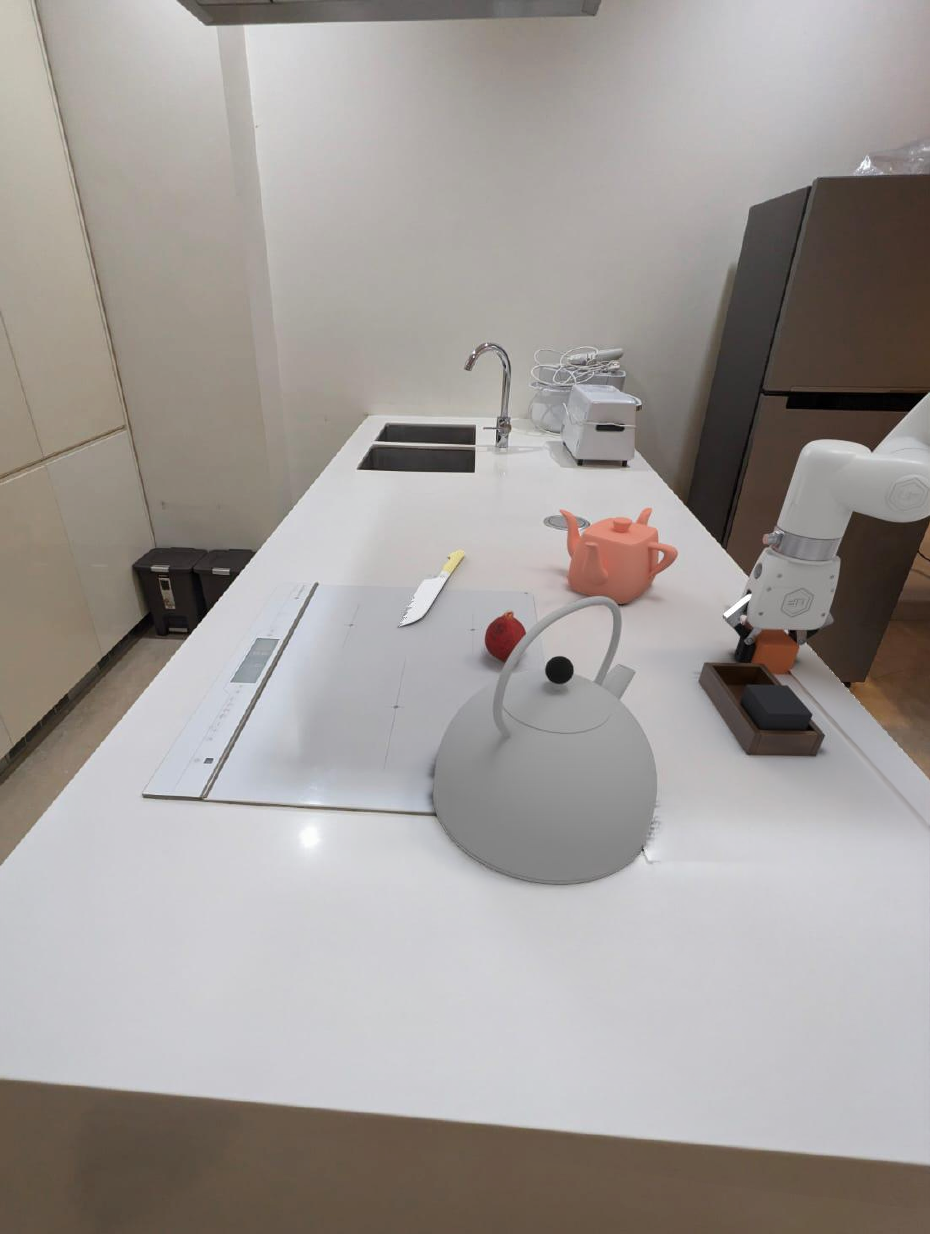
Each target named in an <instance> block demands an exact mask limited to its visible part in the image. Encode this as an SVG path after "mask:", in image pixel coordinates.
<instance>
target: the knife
mask: <svg viewBox="0 0 930 1234" xmlns="http://www.w3.org/2000/svg"><path fill="white" fill-rule="evenodd" d="M465 554H466V552H465V550H461V549H458V550H455V551H453V552H451V553H450V554H448V555H447V557H449V560H448V561H446V563H445V564H444V565H443V567H442V569H441V570H440V573H439V574H438V576H437V577H435V578H426V579H423V580H422V582H421V583H420V585H419V586H418V588H417V590H416V591H415V593H414V594H413V596H414V597H415V598H414V599H412V598H411V599H412V600H411V599H410V601H414V602H412V603H411V604H410V605H409V606H408V605H407V606H406V608H407V607H412V608H411V609H409V610H408V611H407V612H408V613H407V614H406V615H405V616H403V615H402V616H403V617H405V618H406V617H407V618H406V619H405V618H404V620H403V621H402V622H400V621H399V622H400V623H403V624H402V625H400V626H399V627H402V626H405V625H410V624H412V623H414V622H416V621H418V620H420V619H422V618H423V617H424V616H425V615H426V614H427V612H428V610H429V609H430V608H431V606H432V604H433V603H434V601H435V600H436V598H437V596H438V595H439V593H440V592H441V590H442V589H443V586H445V584H446V582H447V580H448V578H449V577H450V576H451V574H452V573H453V571H454V570H455V569H456V568H457V566H458V565H459V563H460V562H461V560H462V559H463V558H464V556H465Z"/></svg>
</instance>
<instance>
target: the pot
mask: <svg viewBox="0 0 930 1234" xmlns="http://www.w3.org/2000/svg"><path fill="white" fill-rule="evenodd" d="M558 511H559V513H560V514H561V515H562V516H563V518H564V519H565V522H566V527H567V535H566V536H567V537H566V549H567V553H568V555H569V557H570V558H571V560H570V564H569V566H568V572H567V582H568V586H569V589H570V590H572V591H575V592H576V593H580V594H582V595H586V596H588V597H594V596H604V597H608V598H610V599H612V600H613V601H614V602H615V603H616V604H617V605H625V604H629V603H631V602H632V601H634V600H636V599H638V598H640V597H641V596H643V595H644V594H645V593H646V592H647V591H648V589H649V588H650V587H651V585H652V584H653V582H654V581H655V579H656V576H657V575H658V574H660V573H661V572H663V571H664V570H666V569H668V568H669V567H671V566H672V565H673V564H674V563H675V561H676V559H678V556H679V552H678V550H677V548H676V547H674V546H672V545H671V544H668V543H667V544H666V543H663V542H662V543H661V542H659V529H657V528H656V527H654V526H650V525H648V523H649V518H650V517H651V514H652V513H653V508H652V507H646V508H644V509H643V510H641V512H640V513H639V516H638V518H637V520H636V522H634V521H633V520H632V519H631V518H628V517H625V516H616V517H608V518H604V519H601V520H599V521H596V522H595V523H592V524H591V525H589V526H588V527H586V528H585V529H584V530H583V531H582V533H581V535H580V531H579V523H578V520H577V518H576V516H575V515H574V514H573V513H571V512H570V511H568V510H566V509H565V510H564V509H559V510H558ZM660 552H661V553H662V554H663V557H662V559H661V560H660V559H659V557H660ZM659 560H660V561H659Z"/></svg>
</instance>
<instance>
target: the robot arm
mask: <svg viewBox="0 0 930 1234" xmlns="http://www.w3.org/2000/svg"><path fill="white" fill-rule="evenodd" d="M789 483H790V484H789V485H788V489H787V492H786V496H785V498H784V502H783V504H782V508H781V510H780V514H779V517H778V519H777V523H776V525H775V526H774V528H773V532H770V533H764V535H763V537H762V543H763V545H768V547H764V549H763V550H762V552H761V554H760V555H759V557H758V559H757V560H756V562H755V564H754V566H753V568H752V570H751V573H750V574H749V577H748V579H747V582H746V584H745V587H744V589H743V592H742V594H741V598H740V600H739V601H737V603H734V605H732V606H731V607H730V608H728V609H727V610H726V611H725V612H724V613H723V614H722V619H723V621H725V622H726V624H727V625H729V626H730V627H731V628H732V629H733V630H734V631H735V632H736V634H737V635H738V636H739V639H738V642H737V645H736V647H735V648H736V649H735V651H734V659H735V661H738V663H751V660H752V658H753V655H754V652H755V649H756V645H755V644H754V641H755V640H756V638H757V637H758V635H759V634H760V632H761V631H762V629H769V630H784V631H787V634H788V635H789V636H790V637H791V638H792V639H793V640H794V641H795V642H796V643H797V644H798V645H799V646H800V647H801V646H804V645H805V644H806V643H807V640H809V639H810V638H811V637H813V636H815V635H816V634H818V632H819V631H820V630H823V629H825V628H827V627H829V626H831V625H832V624H833V623H834V621H835V620H834V618H833V615H832V613H831V611H830V610H831V606H832V604H833V601H834V597H835V593H836V590H837V586H838V583H839V576H840V569H841V558H840V557H839V556H838V555H837V553H838V551H839V547H840V545H841V543H842V540H843V538H844V535H845V532H846V530H847V527H848V524H849V522H850V519H851V517H852V514H853V512H856V513H858V514H862V515H865V516H868V517H872V518H876V519H879V520H883V521H887V522H892V523H911V522H917V521H920V520H922V519H926V518H928V517H929V516H930V391H929V392H928V393H927V394H926V395H925V396H924V397H923V398H922V399H921V400H920V401H919V402H918V403H917V404H916V405H915V406H914V407H913V408H912V409H911V410H910V411H909V412H908V413H907V414H906V415H905V416H904V417H903V418H902V420H900V422H898V424H897V425H896V426H895V427H893V429H892V430H891V431H890V432H889V433H888V434H887V435H886V436H885V438H884V439H882V440H881V442H880V443H879V444H878V445H877V447H875V448H874V449H873V451H871V450H870V448H869V447H867V446H865V445H863V444H861V443H858V442H854V441H849V440H840V439H829V438H828V439H826V438H825V439H816V440H811V441H810V442H808V443H807V444H806V445H804V447H803V448H802V449H801V451H800V453H799V456H798V459H797V461H796V464H795V467H794V471H793V473H792V477H791V480H790V482H789ZM741 616H746V618H745V619H744V621H743V622H741V621H740V618H741Z"/></svg>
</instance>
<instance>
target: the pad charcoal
mask: <svg viewBox="0 0 930 1234" xmlns="http://www.w3.org/2000/svg"><path fill="white" fill-rule="evenodd" d="M740 705H741V706H742V708H743V709H744V710H745V712H746V713H747V715H748V716H749V717H750V719H751V720H752V721H753V723H754V724H755V726H756V727H757V728H758V730H781V731H806V729H807V727H808V724H809V722H810V720H811V719H812V717H813V715H814V714H813V713H812V712H811V710H810V709H809V707H808V706H806V704H804V702H803V701H802V700H801V699H800V698H799V697H798V695H797V694H796V693H795V692H794V691H793V690H792V689H791V687H790V686H789V685H787V684H782V685H746V687H745V690H744V693H743V696H742V699H741V702H740Z"/></svg>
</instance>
